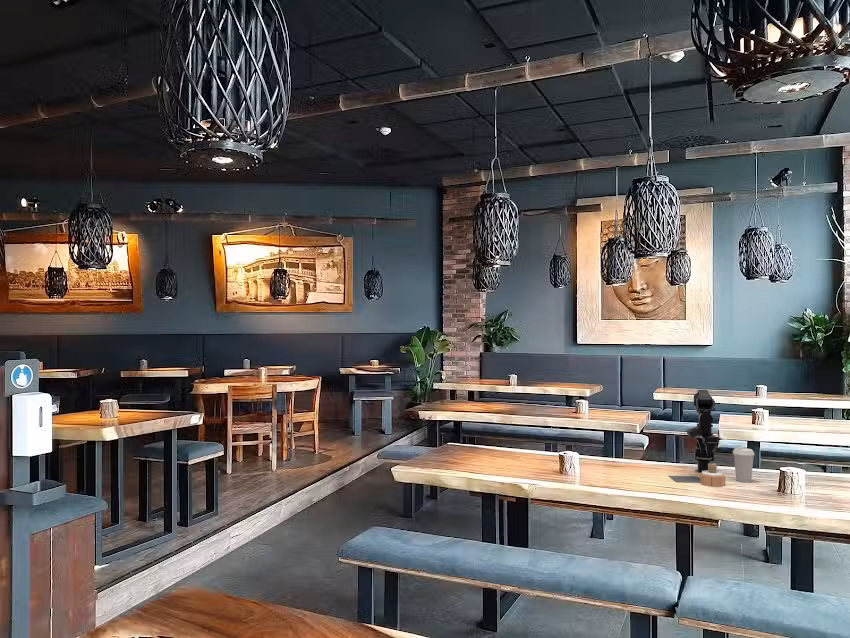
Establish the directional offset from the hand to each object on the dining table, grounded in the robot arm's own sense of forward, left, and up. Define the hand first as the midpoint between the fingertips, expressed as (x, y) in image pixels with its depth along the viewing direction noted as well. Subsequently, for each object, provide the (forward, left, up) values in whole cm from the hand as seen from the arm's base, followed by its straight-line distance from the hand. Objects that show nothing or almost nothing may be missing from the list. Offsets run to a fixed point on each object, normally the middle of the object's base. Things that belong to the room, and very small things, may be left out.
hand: (705, 454), depth 313 cm
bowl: (+13, -1, -12) cm, 18 cm away
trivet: (+4, -10, -12) cm, 16 cm away
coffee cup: (+2, +17, -12) cm, 21 cm away
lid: (+13, -1, -7) cm, 15 cm away
